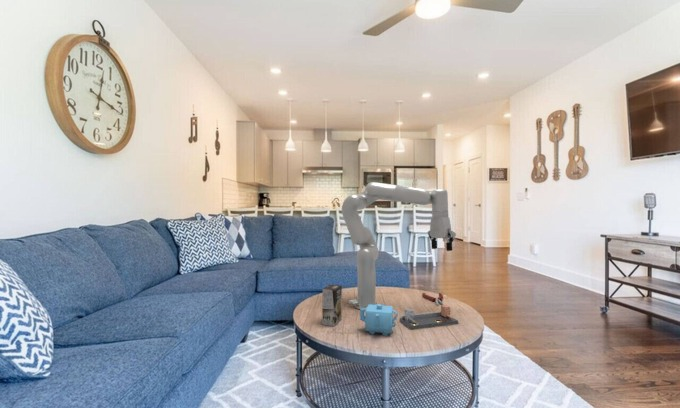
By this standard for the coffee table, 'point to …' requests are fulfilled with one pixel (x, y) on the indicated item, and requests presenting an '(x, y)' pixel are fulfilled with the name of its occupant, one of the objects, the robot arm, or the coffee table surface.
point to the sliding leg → (445, 311)
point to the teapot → (378, 318)
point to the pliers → (438, 300)
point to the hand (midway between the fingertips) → (441, 249)
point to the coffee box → (332, 305)
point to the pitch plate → (425, 320)
